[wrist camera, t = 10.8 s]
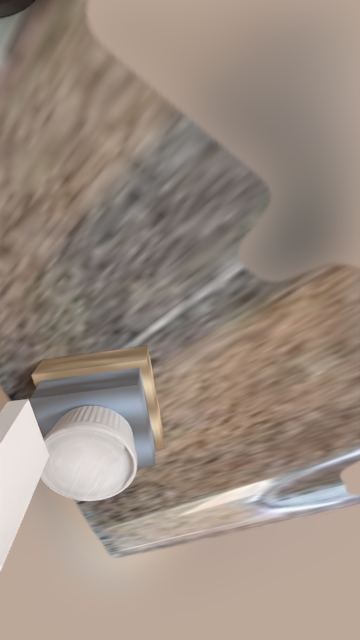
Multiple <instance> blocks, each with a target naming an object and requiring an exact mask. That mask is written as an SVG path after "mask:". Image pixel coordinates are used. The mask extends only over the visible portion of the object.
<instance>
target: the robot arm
mask: <svg viewBox="0 0 360 640" xmlns="http://www.w3.org/2000/svg"><path fill="white" fill-rule="evenodd" d="M34 1H35V0H0V16H6V15H10V14H14V13H16V12H19V11H21V10H22V9H24V8H26V7H27V6H29V5H30V4H31V3H32V2H34ZM48 457H49V453H48V451H47V448H46V445H45V442H44V440H43V437H42V434H41V432H40V429H39V426H38V423H37V421H36V418H35V415H34V412H33V410H32V407H31V404H30V402H29V399H24V400H16V401H9V402H7V403H6V405H5V406H4V408H3V409H2V410H1V412H0V571H1V569H2V566H3V564H4V562H5V559H6V557H7V555H8V552H9V549H10V548H11V545H12V543H13V540H14V538H15V536H16V533H17V531H18V528H19V526H20V524H21V521H22V519H23V516H24V514H25V512H26V510H27V507H28V505H29V502H30V500H31V497H32V495H33V493H34V491H35V488H36V486H37V483H38V481H39V479H40V476H41V474H42V472H43V469H44V467H45V464H46V462H47V460H48Z"/></svg>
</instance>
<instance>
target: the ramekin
mask: <svg viewBox="0 0 360 640" xmlns="http://www.w3.org/2000/svg"><path fill="white" fill-rule="evenodd" d="M43 440H44V442H45V445H46V448H47V451H48V453H49V457H48V460H47V462H46V464H45V467H44V469H43V472H42V474H41V476H40V478H41V480H42V481H43V482H44V483H45V484H46V485H47V486H48V487H49V488H50V489H52V490H53V491H55V492H57V493H58V494H60V495H63V496H65V497H68V498H71V499H75V500H81V501H95V500H102V499H106V498H109V497H112V496H114V495H116V494H118V493H120V492H122V491H123V490H124V489H126V488H127V487H128V486H129V485H130V483H131V482H132V481H133V479H134V477H135V475H136V471H137V454H136V451H135V445H134V438H133V432H132V429H131V427H130V425H129V423H128V422H127V421H126V420H125V419H124V417H122V416H121V415H120V414H118V413H117V412H115V411H114V410H112V409H109V408H106V407H102V406H95V405H91V406H82V407H78V408H75V409H73V410H71V411H69V412H68V413H66V414H65V415H64V416H62V417H61V418H60V420H59V421H58V422H57V423H56V425H55V426H54V427H53V428H52V430H51V431H50V432H49V433H48V434H47V435H46V436H45V437H44V438H43Z"/></svg>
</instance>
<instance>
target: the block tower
mask: <svg viewBox="0 0 360 640" xmlns="http://www.w3.org/2000/svg"><path fill="white" fill-rule="evenodd" d="M32 378H33V381H34V384H35V387H36V390H35V391H34V393H33V394H32V396H31V398H30V399H29V400H30V402H31V405H32V408H33V410H34V413H35V416H36V418H37V421H38V424H39V426H40V429H41V432H42V434H43V437H45V436H46V435H47V434H48V433H49V432H50V431H51V430H52V428H53V427H54V426H55V425H56V423H57V422H58V421H59V420H60V418H61V417H62V416H64V415H65V414H66V413H68V412H69V411H71V410H73V409H75V408H78V407H82V406H91V405H95V406H102V407H106V408H109V409H112V410H114V411H115V412H117V413H118V414H120V415H121V416H122V417H124V419H125V420H126V421H127V422H128V423H129V425H130V427H131V429H132V432H133V438H134V445H135V451H136V454H137V468H141V467H149V466H155V449H159V448H163V426H162V421H161V415H160V410H159V404H158V399H157V393H156V388H155V383H154V377H153V372H152V366H151V361H150V355H149V350H148V346H141V347H134V348H126V349H119V350H111V351H104V352H96V353H89V354H81V355H74V356H66V357H59V358H51V359H44V360H42V361H41V362H40V364H39V365H38V366H37V368H36V369H35V371H34V372H33V373H32Z"/></svg>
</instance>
